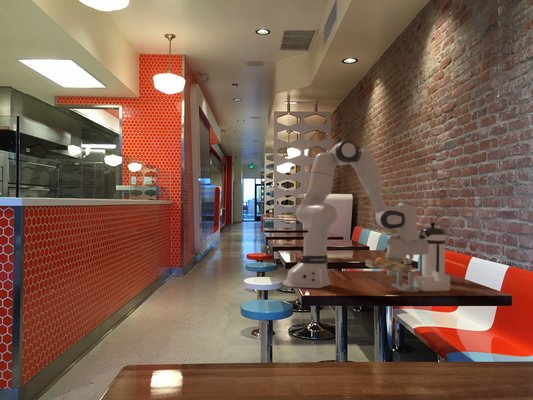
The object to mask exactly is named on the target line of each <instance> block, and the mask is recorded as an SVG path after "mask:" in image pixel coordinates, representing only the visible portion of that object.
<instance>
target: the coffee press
mask: <svg viewBox="0 0 533 400" xmlns="http://www.w3.org/2000/svg"><path fill="white" fill-rule="evenodd" d="M429 225H430V226H427V227H426V226H425V227H422V228H421V230H420V231H419V233H420V234H424V235H426V236H427V239H426V241H427V242H428V249H429V252H428V254H425V255H419V275H418V276H433V271H436V272H440V273H443V274H446V272H445V271H446V269H445V268H446V265H445V264H446V258H445V257H446V242H447V241H446V235H447V233H446V231H445V229H444V228H442V227H435V226H436V223H435V222H430V224H429Z"/></svg>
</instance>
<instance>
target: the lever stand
mask: <svg viewBox="0 0 533 400" xmlns="http://www.w3.org/2000/svg"><path fill="white" fill-rule="evenodd" d="M414 276H415V272H414V271H411V272H408V273H407V283H404V282H403V271H398V270H397V277H396V282H395V283H394V282H393V283H391V286H392V287H395V288H397V289H399V290H401V291H403V292H405V291H406V293H419V292H420V290H419V289H417V288H414Z"/></svg>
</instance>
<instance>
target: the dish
mask: <svg viewBox="0 0 533 400" xmlns="http://www.w3.org/2000/svg"><path fill="white" fill-rule="evenodd" d="M414 288H416V289H419V291H421V292H451V275H449V274H446V273H445V274H443V273H440V272H436V271H433V276H419V275H414Z"/></svg>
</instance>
